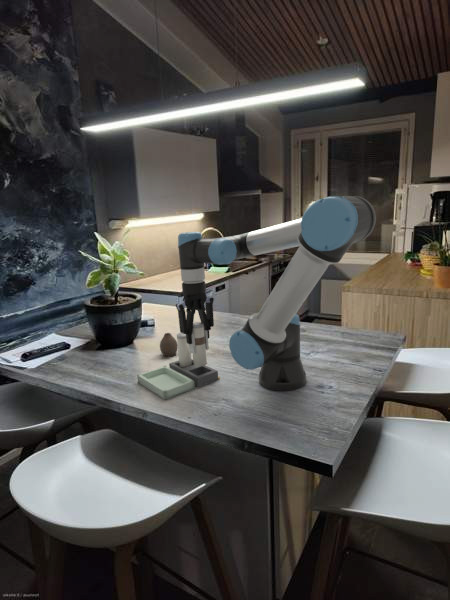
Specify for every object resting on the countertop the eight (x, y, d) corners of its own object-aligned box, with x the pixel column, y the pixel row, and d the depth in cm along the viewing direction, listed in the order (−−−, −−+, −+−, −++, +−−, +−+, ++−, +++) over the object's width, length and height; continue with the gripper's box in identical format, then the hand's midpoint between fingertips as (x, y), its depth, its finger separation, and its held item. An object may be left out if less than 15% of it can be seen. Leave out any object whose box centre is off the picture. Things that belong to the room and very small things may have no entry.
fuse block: (219, 378, 136) (219, 370, 136) (198, 386, 131) (198, 378, 130) (190, 364, 150) (189, 357, 149) (169, 371, 145) (169, 363, 144)
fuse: (194, 371, 144) (191, 334, 140) (184, 375, 141) (181, 337, 138) (187, 368, 147) (184, 331, 144) (177, 371, 144) (174, 334, 141)
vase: (157, 356, 160) (155, 335, 158) (167, 350, 166) (165, 330, 164) (171, 358, 157) (169, 337, 155) (181, 352, 163) (179, 332, 161)
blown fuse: (209, 363, 135) (206, 323, 132) (198, 367, 132) (195, 326, 129) (201, 360, 139) (198, 321, 136) (190, 364, 136) (187, 324, 133)
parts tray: (194, 388, 130) (194, 380, 130) (165, 399, 124) (164, 391, 123) (166, 372, 144) (165, 365, 144) (138, 382, 138) (137, 374, 137)
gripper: (208, 276, 137) (213, 341, 143) (163, 284, 127) (170, 354, 132) (222, 278, 132) (226, 346, 137) (176, 287, 121) (183, 360, 126)
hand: (199, 350), depth 135 cm, fingers closed on blown fuse, 4 cm apart
